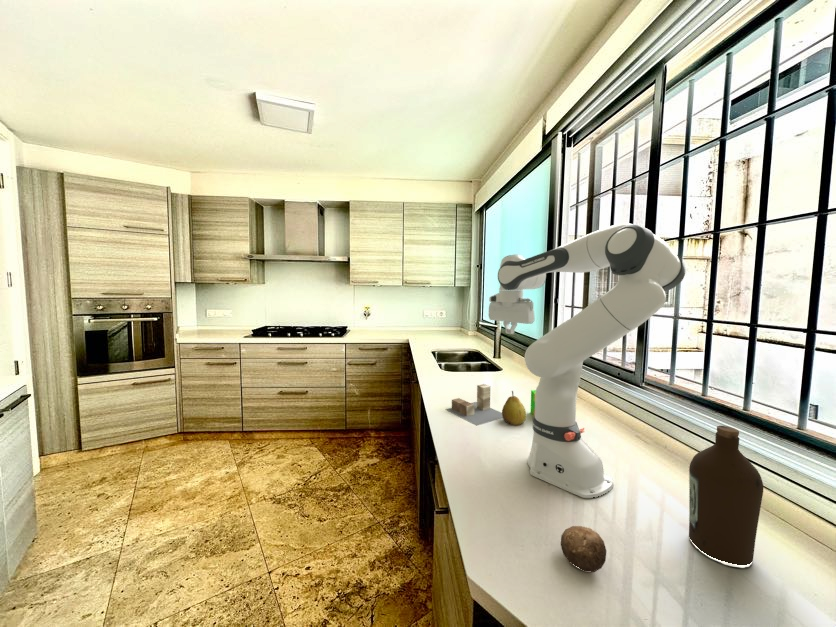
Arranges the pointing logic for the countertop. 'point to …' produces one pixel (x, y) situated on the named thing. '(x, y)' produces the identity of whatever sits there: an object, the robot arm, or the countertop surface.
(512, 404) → the fruit
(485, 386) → the ash block
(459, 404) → the walnut block
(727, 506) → the olive oil
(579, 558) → the brown potato
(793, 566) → the countertop surface
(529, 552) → the countertop surface
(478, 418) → the mat
